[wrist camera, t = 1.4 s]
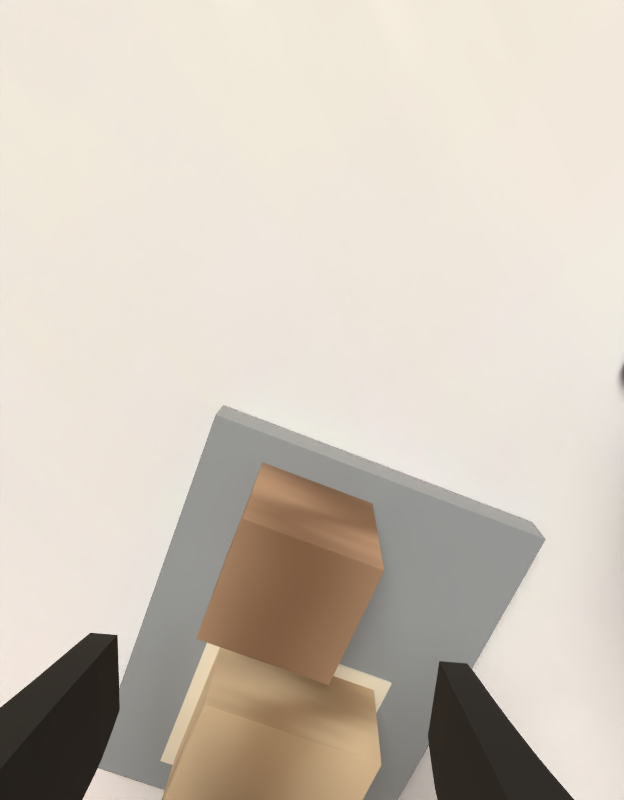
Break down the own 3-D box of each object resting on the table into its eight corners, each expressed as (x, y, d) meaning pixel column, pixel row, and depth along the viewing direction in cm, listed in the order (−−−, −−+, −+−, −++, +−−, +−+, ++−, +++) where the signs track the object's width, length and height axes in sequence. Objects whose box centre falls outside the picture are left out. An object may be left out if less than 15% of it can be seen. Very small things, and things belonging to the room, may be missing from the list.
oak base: (373, 690, 19) (381, 764, 16) (316, 802, 21) (313, 889, 18) (223, 637, 19) (204, 704, 16) (176, 755, 20) (150, 836, 18)
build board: (532, 522, 19) (546, 540, 18) (363, 826, 23) (365, 858, 22) (223, 405, 18) (215, 415, 17) (104, 739, 22) (90, 768, 21)
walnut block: (372, 503, 18) (384, 570, 14) (329, 597, 19) (328, 685, 15) (262, 462, 17) (242, 518, 13) (224, 559, 18) (196, 638, 14)
